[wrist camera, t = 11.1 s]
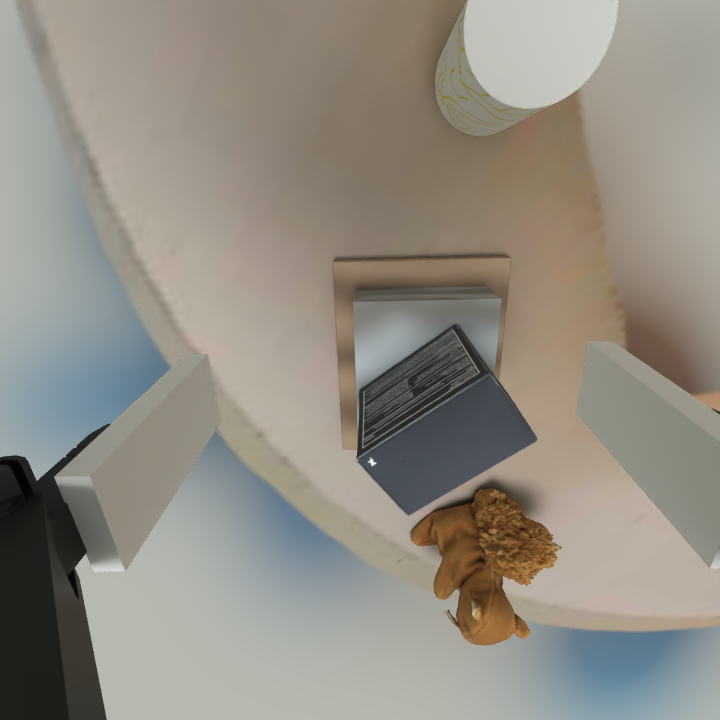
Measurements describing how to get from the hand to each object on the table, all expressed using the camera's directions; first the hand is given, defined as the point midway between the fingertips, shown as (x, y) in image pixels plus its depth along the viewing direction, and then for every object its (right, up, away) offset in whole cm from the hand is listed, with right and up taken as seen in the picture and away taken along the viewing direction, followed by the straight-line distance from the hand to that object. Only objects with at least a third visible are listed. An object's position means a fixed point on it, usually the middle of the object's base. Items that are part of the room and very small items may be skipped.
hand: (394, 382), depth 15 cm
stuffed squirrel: (+12, -18, +36) cm, 42 cm away
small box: (+5, -1, +22) cm, 23 cm away
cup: (+9, +24, +19) cm, 32 cm away
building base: (+5, +1, +28) cm, 28 cm away
